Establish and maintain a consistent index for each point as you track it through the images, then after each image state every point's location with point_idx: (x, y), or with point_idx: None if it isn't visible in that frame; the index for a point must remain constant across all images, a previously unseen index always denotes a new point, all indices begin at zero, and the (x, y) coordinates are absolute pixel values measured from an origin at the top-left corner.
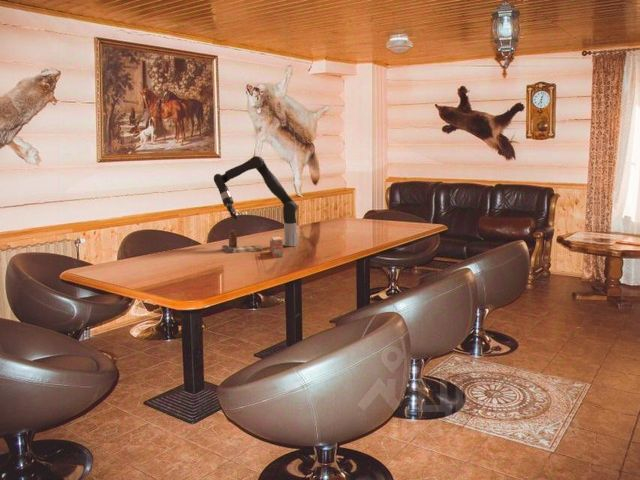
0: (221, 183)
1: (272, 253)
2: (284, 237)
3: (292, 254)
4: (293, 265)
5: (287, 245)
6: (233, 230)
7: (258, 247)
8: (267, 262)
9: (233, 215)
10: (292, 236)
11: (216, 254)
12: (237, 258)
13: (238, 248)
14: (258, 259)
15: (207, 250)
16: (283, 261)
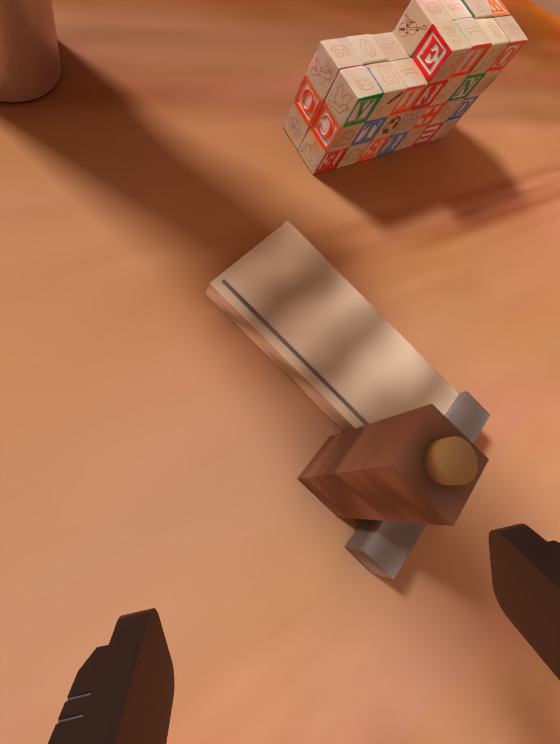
0: None
1: (407, 141)
2: (11, 22)
3: None
4: (532, 53)
5: (58, 72)
6: (462, 439)
7: (303, 249)
8: (543, 150)
9: (534, 536)
10: None
11: (536, 491)
12: (552, 308)
13: (398, 385)
14: (517, 199)
15: (463, 676)
16: (496, 89)
